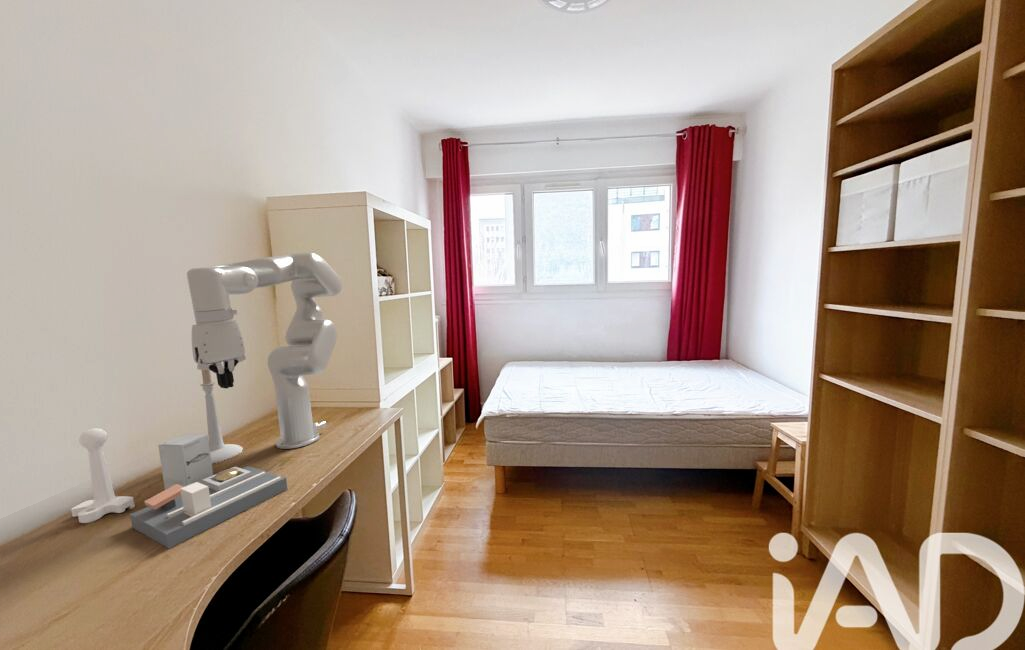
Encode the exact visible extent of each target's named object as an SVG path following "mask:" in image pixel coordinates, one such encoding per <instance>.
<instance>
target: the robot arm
mask: <svg viewBox="0 0 1025 650" xmlns="http://www.w3.org/2000/svg"><path fill="white" fill-rule="evenodd" d="M186 277H187V278H186V279H187V284H188V287H189V288H188V289H189V293H190V298H191V304H192V309H193V315H194V320H195V324H192V325H191V349H192V356H193V357H192V358H193V361H194V362H195V363H196V364H197V369H198V370H200V371H201V370H210V372H213V374H216V380H217V385H218V386H219V387H220V388H221V389H230V388H233V387H234V383H235V380H234V374H233V372H234V371H235V367H236V366H237V365H238V364H239V363H241V362H243V361H245V360H246V355H245V354H246V350H245V348H246V347H245V342H244V339H243V336H242V333H241V329H240V327H239V325H238V322H237V321H236V319H234V316H236V315H238V311H237V309H233V308H232V306H231V301H230V300H231V299H230V295H245V294H249V293H252V292H253V291H254V290H255V289H258V288H268V287H274V286H278V285H280V284H283V283H286V282H290V288H291V289H290V290H291V292H292V296H293V298H294V301H295V305H296V309H295V312H294V315H293V317H292V319H291V321H290V323H289V325H288V327H287V329H286V332H285V336H284V337H285V338H284V339H285V342H286V344H287V345H288V346H287V345H286V346H280V347H276V348H274V349H273V350H271V352H270V353H269V355H268V357H267V367H268V370H269V373H270V375H271V376H270V377H271V378H272V382H273V386H274V387H273V388H274V393H275V402H276V410H277V418H278V425H279V433H280V437H279V438H278V439H277V440H276V442H275V446H276V448H278V449H280V450H281V449H283V450H284V449H285V450H287V449H290V450H291V449H296V448H301V447H304V446H308V445H311V444H312V443H314V442H316V441H317V440H319V439H320V433H319V430H320V429H323V428H325V427H327V425H328V424H327V422H326V421H321V422H319V423H318V421H316V422H313V415H312V407H311V406H312V405H311V396H310V387H309V384H308V382H307V381H306V379H305V377H304V376H316V375H320V374H322V373H323V372H324V371H325V369H326V368H327V366H328V364H329V361H330V359H331V356H332V355H333V354H332V353H333V351H334V348H335V346H336V343H337V340H338V339H337V337H338V331H337V327H336V324H335V323H334V322H333V321H332V320H330V319H326V318H323V315H324V314H323V310H322V308H321V306H320V305H319V304H318V303H317V301H316V299H315V298H320V297H321V298H323V297H324V298H325V297H334V296H337V295H339V293H341V291H342V287H343V285H342V280H341V278H340V275H339V274H338V273H337V272H336V271H335V270H334V269H333V268H332V266H331V265H330V264H328V262H327V260H325V259H324V258H323V257H321V256H320V255H318V254H316V253H314V252H299V253H287V254H280V255H275V256H268V257H262V258H256V259H251V260H250V259H249V260H244V261H241V262H232V263H227V264H220V265H213V266H209V267H195V268H191V269H189V270H187V273H186ZM222 362H223V363H222ZM207 364H209V365H207Z"/></svg>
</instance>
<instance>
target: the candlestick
mask: <svg viewBox="0 0 1025 650" xmlns="http://www.w3.org/2000/svg"><path fill="white" fill-rule="evenodd" d="M207 365H210V364H207ZM200 371H201V376H202V383H201V384H200V386H201V387H202V390H203V392H204V394H205V395H204V399H205V409H206V424H207V434H208V441H209V448H210V455H211V463H212V465H214V464H213V463H216V464H218V463H217V462H220V463H222V462H221V461H223V462H225V461H224V460H226V461H228V460H227V459H229V458H232V457H234V456H236V455H238V454H239V453H241V452H242V453H243V451H244V448H243V446H241V445H239V444H232V443H226V444H225V443H224V439H223V434H222V430H221V425H220V421H219V416H218V410H217V407H216V403H215V402H216V400H215V398H214V397H215V396H214V393H213V389H214V388H215V386H214V385H215V384H216V382H213V381H212V376H211V370H200ZM242 450H243V451H242ZM242 453H241V454H242ZM239 455H240V454H239ZM239 455H238V456H239ZM236 457H237V456H236ZM234 458H235V457H234ZM232 459H233V458H232ZM229 460H230V459H229Z"/></svg>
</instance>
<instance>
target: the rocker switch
mask: <svg viewBox="0 0 1025 650" xmlns="http://www.w3.org/2000/svg"><path fill="white" fill-rule="evenodd" d="M180 488H183V486H181V485H178V484H175V485H174V486H172V487H170V488H168V489H166V490H165V489H164V490H162V491H160V492H159V493H156V495H154V496H152V497H150V498H147V499H146V500H144V505H145V506H146V507H150V508H152V509H154V510H155V509H157V508H159V507H161V506H163V505H164V504H166V503H168V502H170V501H171V500H173V499H175V498H177V497H179V496H180V495H181V490H180Z"/></svg>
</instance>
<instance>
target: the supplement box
mask: <svg viewBox="0 0 1025 650" xmlns="http://www.w3.org/2000/svg"><path fill="white" fill-rule="evenodd" d="M158 450H159V452H158V453H159V459H160V465H161V472H162V473H161V474H162V478H163V487H164V490H166V489H168V488H170V487H172V486H174V485H175V484H178V485H181V486H183V487H185V486H188V485H190V484H193V483H195V482H198V483H201V484H203V481H202V480H203V479H205V478H208V477H210V476H213V475H214V470H213V464H212V463H211V455H210V448H209V438H208V433H201V434H200V433H185V434H182V435H180V436H178V437H175V438H172V439H170V440H167V441H165V442H162V443H159V444H158Z"/></svg>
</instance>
